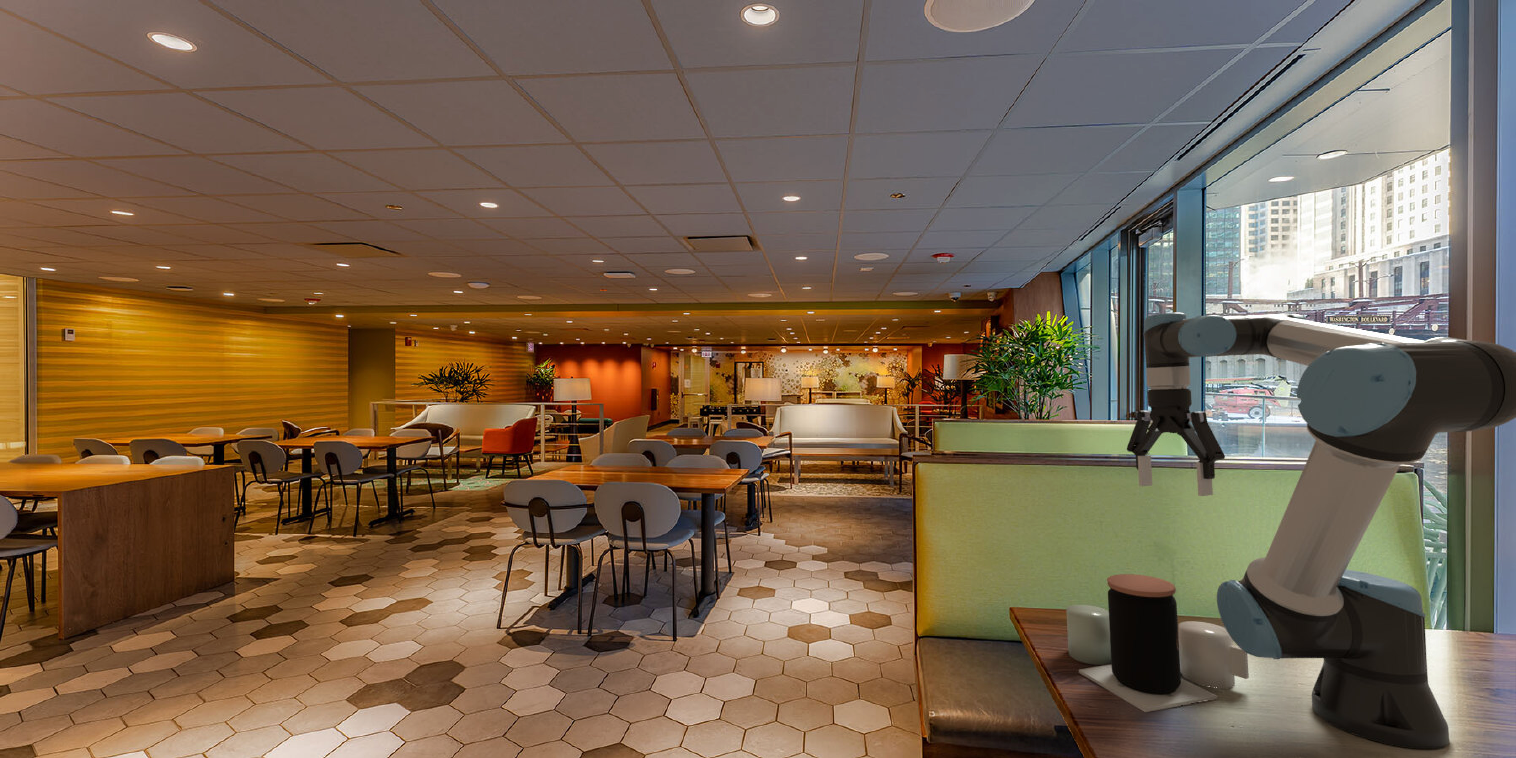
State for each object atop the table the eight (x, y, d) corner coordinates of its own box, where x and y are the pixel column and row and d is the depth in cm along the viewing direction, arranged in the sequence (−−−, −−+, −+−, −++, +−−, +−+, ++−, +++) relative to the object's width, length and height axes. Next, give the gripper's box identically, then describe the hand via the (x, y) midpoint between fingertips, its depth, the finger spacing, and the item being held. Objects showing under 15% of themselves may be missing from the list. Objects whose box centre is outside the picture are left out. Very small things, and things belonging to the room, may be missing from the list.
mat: (1217, 699, 104) (1217, 695, 104) (1145, 712, 101) (1144, 708, 101) (1144, 662, 118) (1143, 658, 118) (1079, 672, 115) (1078, 669, 115)
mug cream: (1173, 676, 113) (1170, 627, 113) (1192, 664, 117) (1189, 618, 117) (1239, 698, 104) (1236, 645, 104) (1257, 684, 108) (1254, 634, 109)
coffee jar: (1196, 696, 104) (1190, 591, 104) (1133, 697, 104) (1127, 592, 105) (1156, 668, 114) (1151, 573, 115) (1100, 669, 115) (1095, 574, 115)
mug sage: (1072, 662, 120) (1070, 617, 120) (1065, 646, 127) (1063, 603, 127) (1131, 667, 117) (1128, 621, 117) (1119, 650, 124) (1117, 606, 124)
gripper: (1243, 386, 114) (1250, 498, 113) (1133, 388, 138) (1137, 480, 137) (1212, 387, 112) (1218, 501, 111) (1105, 389, 136) (1110, 483, 136)
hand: (1174, 490), depth 124 cm, fingers open, 13 cm apart
